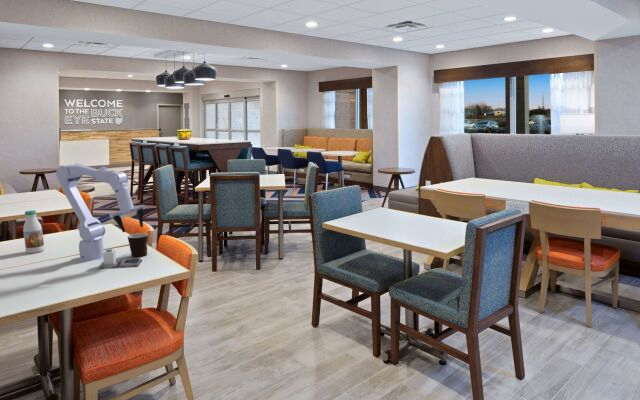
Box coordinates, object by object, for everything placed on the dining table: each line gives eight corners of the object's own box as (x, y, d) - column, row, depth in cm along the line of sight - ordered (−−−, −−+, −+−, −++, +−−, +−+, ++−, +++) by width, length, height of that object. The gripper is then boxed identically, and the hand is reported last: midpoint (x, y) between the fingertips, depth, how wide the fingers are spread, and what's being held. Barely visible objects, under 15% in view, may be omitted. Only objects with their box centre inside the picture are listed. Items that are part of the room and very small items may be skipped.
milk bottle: (22, 252, 222) (16, 212, 218) (37, 248, 229) (32, 209, 225) (33, 254, 219) (28, 213, 215) (48, 250, 226) (43, 210, 222)
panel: (97, 270, 193) (97, 266, 193) (104, 263, 203) (104, 259, 202) (137, 268, 195) (137, 264, 195) (142, 261, 205) (142, 257, 205)
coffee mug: (142, 259, 207) (140, 238, 205) (125, 259, 209) (123, 237, 207) (156, 252, 218) (155, 231, 216) (140, 251, 220) (138, 231, 218)
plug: (104, 266, 196) (102, 251, 195) (107, 264, 200) (105, 248, 199) (114, 266, 197) (112, 250, 195) (116, 263, 200) (115, 247, 199)
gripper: (107, 203, 193) (117, 234, 194) (142, 194, 201) (151, 224, 202) (105, 204, 199) (114, 234, 200) (139, 195, 207) (148, 224, 208)
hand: (133, 229), depth 202 cm, fingers open, 7 cm apart
